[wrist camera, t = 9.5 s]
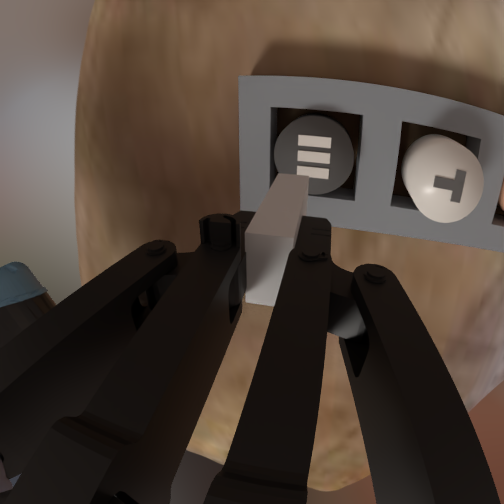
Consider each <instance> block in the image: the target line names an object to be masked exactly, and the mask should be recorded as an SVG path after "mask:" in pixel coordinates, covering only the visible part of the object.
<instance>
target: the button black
mask: <svg viewBox="0 0 504 504" xmlns="http://www.w3.org/2000/svg"><path fill="white" fill-rule="evenodd" d="M274 160H275V164H276V168H277V170H278V172H279V173H283V174H294V175H305V176H309V186H308V194H316V195H317V194H325V193H328V192H331V191H333V190H335V189H337V188H339V187H340V186H341V185H342V184H343V183H344V182H345V181H346V180H347V179H348V177H349V175H350V173H351V171H352V168H353V164H354V151H353V147H352V143H351V139H350V136H349V134H348V132H347V130H346V129H345V127H344V126H343V125H342V124H341V123H340V122H339V121H337V120H336V119H334V118H333V117H331V116H328V115H325V114H321V113H310V114H305V115H302V116H300V117H298V118H296V119H295V120H294V121H292V122H291V123H290V124H289V125H288V126H287V127H286V128H285V129H284V130H283V131H282V132H281V134H280V135H279V137H278V139H277V141H276V144H275V148H274Z"/></svg>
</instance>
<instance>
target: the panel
mask: <svg viewBox="0 0 504 504" xmlns="http://www.w3.org/2000/svg"><path fill="white" fill-rule="evenodd" d="M238 79H239V158H240V211H241V210H242V211H253V212H257V210H258V208H259V206H260V205H261V203H262V201H263V199H264V198H265V196H266V194H267V192H268V191H269V189H270V187H271V185H272V184H273V182H274V180H275V179H276V164H275V160H274V148H275V144H276V141H277V107H282V108H299V109H313V110H324V111H335V112H344V113H352V114H360V126H359V138H358V150H357V160H356V169H355V178H354V187H353V189H349V188H341V187H339V188H337V189H335V190H333V191H331V192H328V193H325V194H317V195H316V194H308V200H307V213H306V216H311V217H320V218H327V219H328V221H329V222H330V223H331V226H332V227H340V228H347V229H355V230H363V231H370V232H377V233H384V234H391V235H398V236H405V237H412V238H419V239H425V240H432V241H438V242H445V243H451V244H457V245H463V246H469V247H475V248H481V249H487V250H492V251H498V252H504V216H502V215H498V214H494V213H495V210H496V206H497V202H498V199H499V195H500V191H501V186H502V182H503V178H504V116H503V115H500V114H498V113H495V112H492V111H488V110H485V109H482V108H479V107H476V106H472V105H469V104H465V103H462V102H458V101H454V100H451V99H447V98H443V97H438V96H434V95H430V94H425V93H421V92H416V91H411V90H406V89H401V88H395V87H389V86H383V85H377V84H370V83H363V82H355V81H346V80H337V79H326V78H313V77H296V76H238ZM402 121H405V122H410V123H415V124H420V125H425V126H430V127H435V128H439V129H443V130H448V131H452V132H456V133H460V134H464V135H468V136H467V142H466V148H467V149H468V150H470V151H471V152H472V153H473V154H474V155H475V157H476V158H477V159H478V161H479V163H480V165H481V168H482V171H483V176H484V187H483V192H482V196H481V198H480V200H479V202H478V204H477V206H476V207H475V208H474V210H473V211H472V212H471V213H470V214H468V215H467V216H466V217H464V218H463V219H461V220H458V221H455V222H450V223H441V222H436V221H433V220H431V219H429V218H427V217H426V216H425V215H423V214H422V213H421V212H420V211H419V209H418V208H417V206H416V205H415V203H414V201H413V199H412V198H410V197H404V196H398V195H392V193H393V187H394V181H395V174H396V168H397V160H398V153H399V145H400V136H401V127H402Z"/></svg>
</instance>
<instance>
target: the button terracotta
mask: <svg viewBox="0 0 504 504" xmlns="http://www.w3.org/2000/svg"><path fill="white" fill-rule="evenodd" d="M497 204H498V206H499V207H500V208H501V209H502V210H503V211H504V178H503V182H502V186H501V191H500V195H499V199H498V202H497Z"/></svg>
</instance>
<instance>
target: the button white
mask: <svg viewBox="0 0 504 504" xmlns="http://www.w3.org/2000/svg"><path fill="white" fill-rule="evenodd" d="M401 173H402V179H403V182H404V185H405V187H406V189H407V190H408V192H409V194H410V196H411V197H412V199H413V201H414V203H415V205H416V206H417V208H418V209H419V211H420V212H421V213H422V214H423V215H425V216H426V217H427V218H429V219H431V220H433V221H436V222H441V223H450V222H455V221H458V220H461V219H463V218H464V217H466V216H467V215H468V214H470V213H471V212H472V211H473V210H474V208H475V207H476V206H477V204H478V202H479V200H480V198H481V196H482V192H483V187H484V176H483V171H482V168H481V165H480V163H479V161H478V159H477V158H476V157H475V155H474V154H473V153H472V152H471V151H470V150H468V149H467V148H466V147H464V146H462V145H461V144H459V143H457V142H456V141H454V140H452V139H451V138H449V137H447V136H444V135H440V134H429V135H425V136H422V137H420V138H418V139H417V140H415V141H414V142H413V143H412V144H411V145H410V146H409V148H408V149H407V151H406V152H405V154H404V157H403V160H402V167H401Z"/></svg>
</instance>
